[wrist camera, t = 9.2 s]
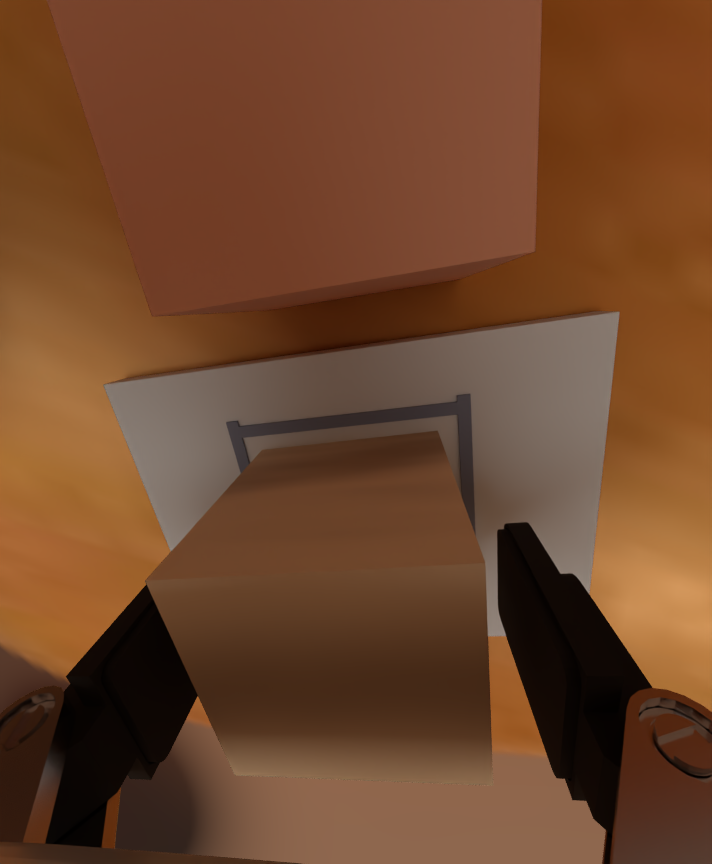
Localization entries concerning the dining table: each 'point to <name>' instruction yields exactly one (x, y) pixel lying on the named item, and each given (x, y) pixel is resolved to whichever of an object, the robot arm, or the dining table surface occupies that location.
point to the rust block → (310, 142)
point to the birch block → (338, 616)
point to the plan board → (401, 424)
